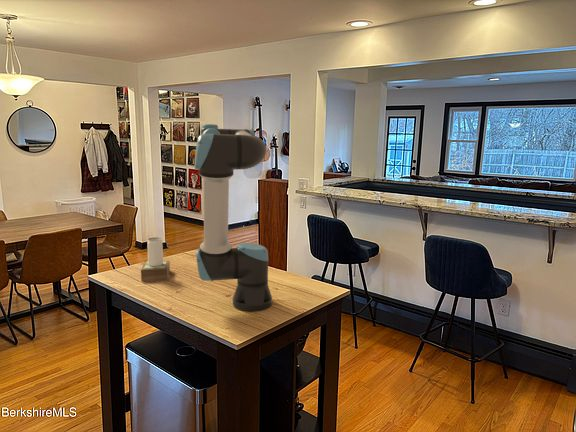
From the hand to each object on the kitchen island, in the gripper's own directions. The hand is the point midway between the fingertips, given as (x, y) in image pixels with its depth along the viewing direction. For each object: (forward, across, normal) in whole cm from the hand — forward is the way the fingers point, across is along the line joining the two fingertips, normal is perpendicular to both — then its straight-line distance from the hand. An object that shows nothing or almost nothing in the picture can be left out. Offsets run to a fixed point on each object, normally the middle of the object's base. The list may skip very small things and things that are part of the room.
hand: (210, 206), depth 190 cm
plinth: (+32, -2, +25) cm, 40 cm away
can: (+27, -2, +25) cm, 36 cm away
